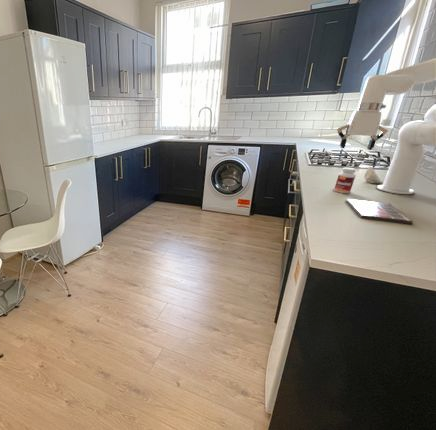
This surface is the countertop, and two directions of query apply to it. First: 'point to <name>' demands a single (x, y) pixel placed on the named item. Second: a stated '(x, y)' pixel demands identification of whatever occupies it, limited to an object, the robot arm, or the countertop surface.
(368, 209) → the board
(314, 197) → the countertop surface
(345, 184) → the pill bottle
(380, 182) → the stone
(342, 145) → the robot arm
